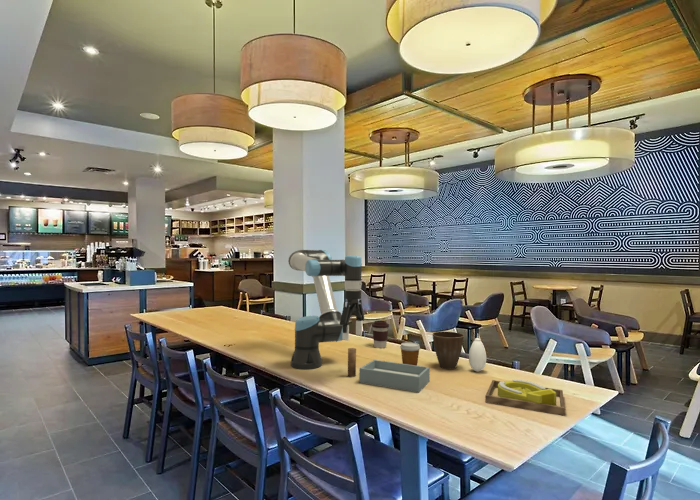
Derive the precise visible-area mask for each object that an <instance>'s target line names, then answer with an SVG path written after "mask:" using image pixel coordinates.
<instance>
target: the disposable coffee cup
mask: <svg viewBox="0 0 700 500" xmlns="http://www.w3.org/2000/svg"><path fill="white" fill-rule="evenodd" d="M399 349H400V351H401V352H400V353H401V361H402V362H401V364H409V365H416V366H418V362H419V361H418V360H419V354H420V350H421V347H420V344H419V343H416V342H402V343H401V344H400V346H399Z"/></svg>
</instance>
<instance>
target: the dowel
mask: <svg viewBox="0 0 700 500" xmlns="http://www.w3.org/2000/svg"><path fill="white" fill-rule="evenodd" d="M347 376H348V378H355V377H356V376H357V348H355V347H349V348H347Z"/></svg>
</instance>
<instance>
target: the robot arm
mask: <svg viewBox="0 0 700 500" xmlns="http://www.w3.org/2000/svg"><path fill="white" fill-rule="evenodd" d="M288 265H289V267H290V268H291V269H292V270H294V271H301V272H305V273H306V275H307V276H309V277H312V278H313V282H314V287H315V292H316V297H317V302H318V306H319V310H320V315H319V316H318V315H308V316H306V315H305V316H301V317H299V318H297V319H296V321H295V323H294V324H295V325H294V350H293V354H292V357H291V360H290V366H291V368H294V369H299V370H312V369H316V368H321V367H322V365H323V360H322V359H323V358H322V356H321V353H320V350H319V349H320V348H319V345H320V343H332V342H336V343H337V342H341V341H349V340H350V325H349V323H350V319H351V317H352V314H353V313H354V317H355V318H356V320H355V335H356V336H363V322H364V321H365V315H364V309H363V305H362V304H363V303H362V290H361V289H362V285H363V283H362V266H363V263H362V256H360V255H346V256H345V257H344V259H332V255H331V254H330V252H329V251H328V250H322V249H318V250H317V249H299V250H295V251H293V252H292V253H291V254H290V255H289V256H288ZM340 276H341V277H344V289H345V290H344V299H346V300H347V301H343V305H342V307H343V308H342V311H340V310H338V308H337V304H336V299H335V295H334V291H333V288H332V284H331V279H330V277H340Z"/></svg>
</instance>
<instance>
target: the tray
mask: <svg viewBox="0 0 700 500" xmlns="http://www.w3.org/2000/svg"><path fill="white" fill-rule="evenodd" d="M430 369H431V368H430V366H429V367H428V366H423V365H417V366H416V365H409V364H403V363H402V362H401V363H400V362H395V361H394V362H393V361H385V360H378V359H373V360H371V361H369V362H368V363H366V364H365V365H362V366H361V367H359V374H358V375H359V379H358V380H359V381H358V382H359V383H361V384H366V385H372V386H378V387H384V388H391V389H395V390H402V391H408V392H414V393H420V392H421V391H422V390H423V389H424V388H425V387H426V385H428V383H430V378H431V377H430V372H431V370H430Z"/></svg>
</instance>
